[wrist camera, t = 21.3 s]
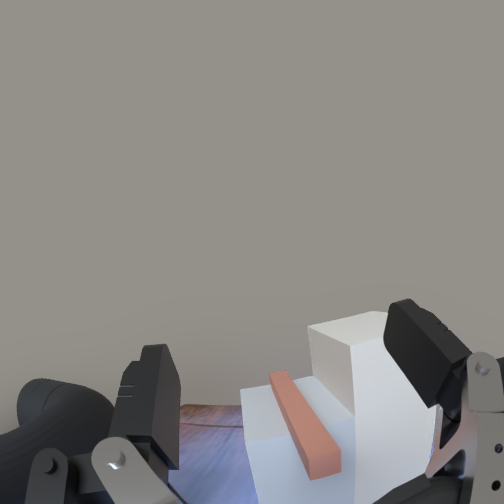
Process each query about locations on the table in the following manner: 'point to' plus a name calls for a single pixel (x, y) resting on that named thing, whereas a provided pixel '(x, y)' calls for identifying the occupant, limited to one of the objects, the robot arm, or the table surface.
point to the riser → (342, 420)
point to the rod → (306, 429)
